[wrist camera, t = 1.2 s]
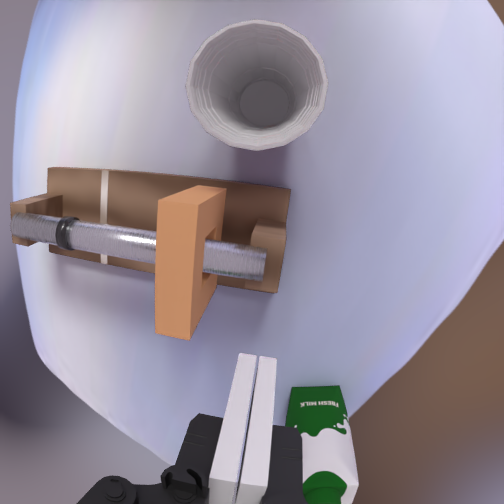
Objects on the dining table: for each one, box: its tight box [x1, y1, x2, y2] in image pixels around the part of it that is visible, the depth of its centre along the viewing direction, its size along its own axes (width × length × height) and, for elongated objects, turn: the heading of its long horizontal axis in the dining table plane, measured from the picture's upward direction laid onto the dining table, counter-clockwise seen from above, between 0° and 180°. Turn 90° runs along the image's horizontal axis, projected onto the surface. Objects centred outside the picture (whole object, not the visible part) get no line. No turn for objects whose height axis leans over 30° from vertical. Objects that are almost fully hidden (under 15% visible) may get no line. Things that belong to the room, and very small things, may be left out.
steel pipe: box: [10, 212, 267, 282], centre depth 29 cm, size 4×29×4 cm, turn 83°
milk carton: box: [285, 386, 359, 504], centre depth 34 cm, size 9×9×20 cm
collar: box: [155, 185, 227, 341], centre depth 29 cm, size 11×3×11 cm, turn 173°
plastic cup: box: [185, 19, 328, 151], centre depth 27 cm, size 11×11×12 cm
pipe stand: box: [10, 167, 291, 293], centre depth 33 cm, size 12×32×9 cm, turn 83°
